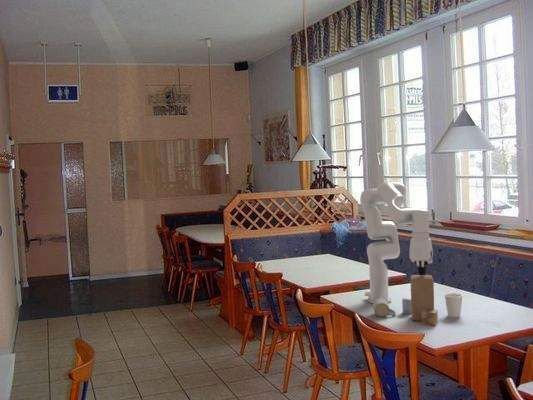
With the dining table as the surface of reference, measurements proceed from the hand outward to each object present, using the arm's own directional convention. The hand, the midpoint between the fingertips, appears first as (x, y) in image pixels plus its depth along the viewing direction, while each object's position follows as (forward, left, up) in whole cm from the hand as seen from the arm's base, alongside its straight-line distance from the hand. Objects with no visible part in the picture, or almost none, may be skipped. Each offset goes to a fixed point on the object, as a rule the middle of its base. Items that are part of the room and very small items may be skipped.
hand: (422, 275), depth 280 cm
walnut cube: (+7, -6, -21) cm, 23 cm away
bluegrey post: (-11, +5, -21) cm, 24 cm away
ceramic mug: (-18, -5, -21) cm, 28 cm away
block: (0, 0, -21) cm, 21 cm away
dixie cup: (+9, +13, -21) cm, 26 cm away
